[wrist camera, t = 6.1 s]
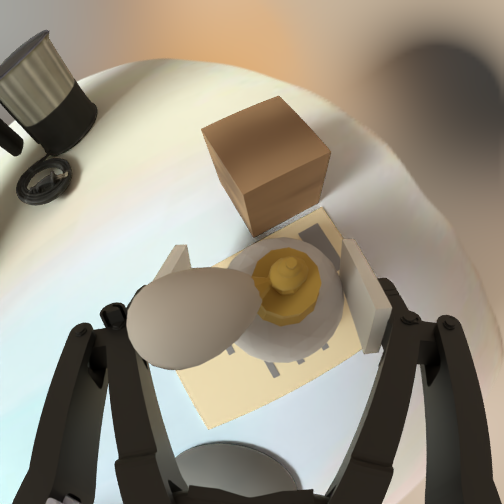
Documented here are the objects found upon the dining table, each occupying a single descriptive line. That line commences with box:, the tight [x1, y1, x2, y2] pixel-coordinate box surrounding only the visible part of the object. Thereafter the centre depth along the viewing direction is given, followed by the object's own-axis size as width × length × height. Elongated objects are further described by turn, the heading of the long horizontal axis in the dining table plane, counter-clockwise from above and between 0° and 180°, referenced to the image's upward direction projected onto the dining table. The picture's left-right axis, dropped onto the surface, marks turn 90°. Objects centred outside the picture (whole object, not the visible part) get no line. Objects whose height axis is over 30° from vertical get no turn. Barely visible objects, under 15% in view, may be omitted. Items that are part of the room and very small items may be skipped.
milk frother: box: [0, 30, 97, 205], centre depth 21 cm, size 14×16×15 cm
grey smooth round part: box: [175, 443, 297, 497], centre depth 15 cm, size 11×11×1 cm
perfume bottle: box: [126, 237, 345, 370], centre depth 14 cm, size 8×10×12 cm
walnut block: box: [201, 96, 331, 238], centre depth 20 cm, size 6×6×7 cm
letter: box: [176, 207, 362, 430], centre depth 20 cm, size 11×16×1 cm
